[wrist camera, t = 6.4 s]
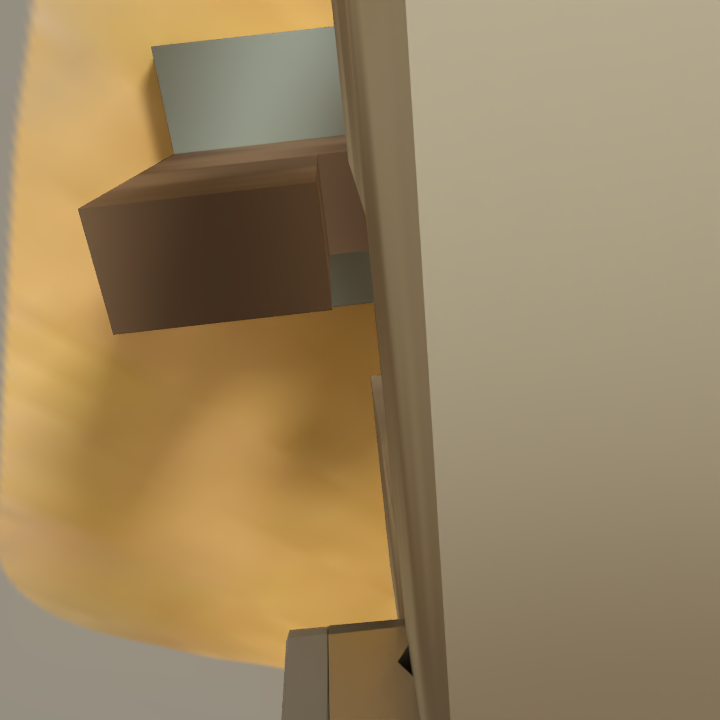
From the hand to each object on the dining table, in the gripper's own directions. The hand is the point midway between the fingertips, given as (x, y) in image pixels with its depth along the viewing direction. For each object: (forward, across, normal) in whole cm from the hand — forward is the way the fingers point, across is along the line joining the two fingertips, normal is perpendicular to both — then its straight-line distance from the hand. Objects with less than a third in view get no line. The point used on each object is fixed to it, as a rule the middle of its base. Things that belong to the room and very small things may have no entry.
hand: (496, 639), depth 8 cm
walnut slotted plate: (+14, 0, -4) cm, 15 cm away
